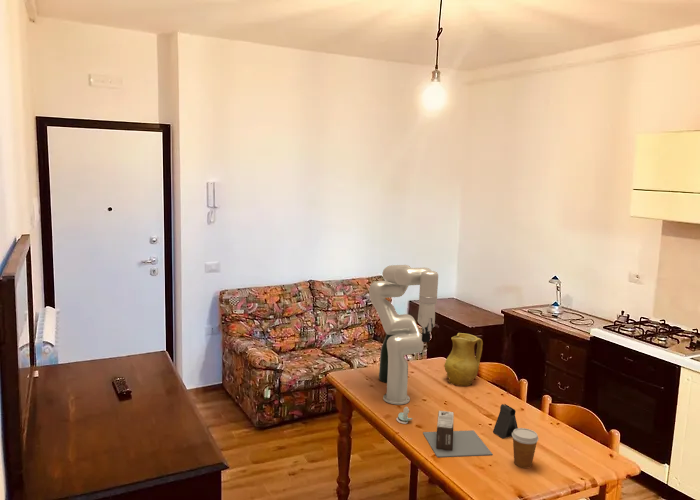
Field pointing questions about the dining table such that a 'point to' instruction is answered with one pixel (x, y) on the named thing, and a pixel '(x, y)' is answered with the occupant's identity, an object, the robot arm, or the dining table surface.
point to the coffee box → (445, 430)
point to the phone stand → (505, 422)
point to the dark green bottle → (384, 360)
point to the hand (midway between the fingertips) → (425, 341)
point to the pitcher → (463, 359)
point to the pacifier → (405, 417)
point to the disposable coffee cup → (524, 446)
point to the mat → (460, 444)
